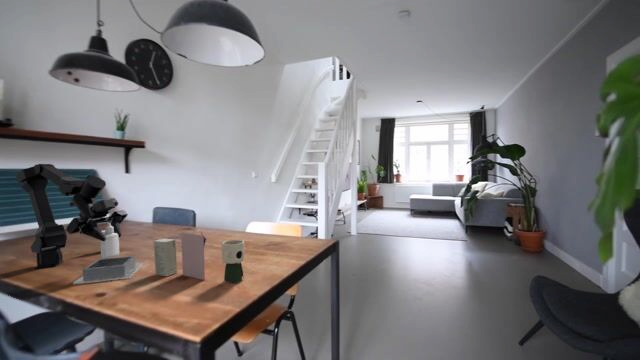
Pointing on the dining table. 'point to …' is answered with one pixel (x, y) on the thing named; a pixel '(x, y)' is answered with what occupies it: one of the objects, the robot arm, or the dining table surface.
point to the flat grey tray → (109, 270)
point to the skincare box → (165, 257)
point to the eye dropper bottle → (110, 243)
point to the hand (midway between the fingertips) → (112, 238)
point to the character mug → (233, 259)
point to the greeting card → (193, 255)
